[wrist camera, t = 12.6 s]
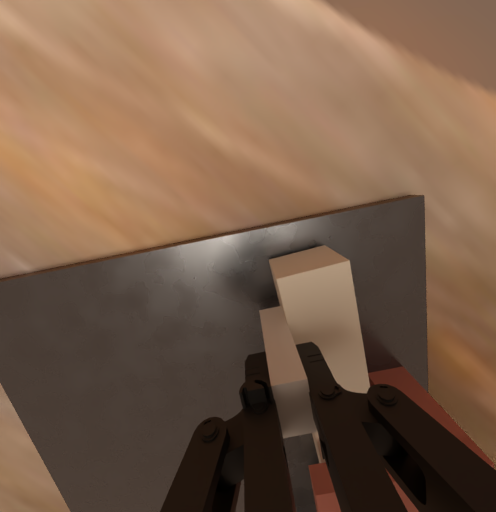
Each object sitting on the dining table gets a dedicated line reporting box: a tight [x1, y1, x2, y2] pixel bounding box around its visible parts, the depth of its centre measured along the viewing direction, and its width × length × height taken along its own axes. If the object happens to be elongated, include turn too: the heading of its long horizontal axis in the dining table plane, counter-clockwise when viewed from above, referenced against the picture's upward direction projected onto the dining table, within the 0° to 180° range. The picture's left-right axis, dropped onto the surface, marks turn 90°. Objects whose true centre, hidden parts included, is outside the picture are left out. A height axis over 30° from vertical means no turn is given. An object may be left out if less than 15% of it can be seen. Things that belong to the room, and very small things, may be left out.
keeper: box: [308, 367, 494, 512], centre depth 17 cm, size 5×10×8 cm, turn 101°
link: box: [269, 245, 370, 463], centre depth 17 cm, size 25×6×7 cm, turn 15°
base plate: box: [0, 195, 428, 512], centre depth 22 cm, size 30×34×2 cm
